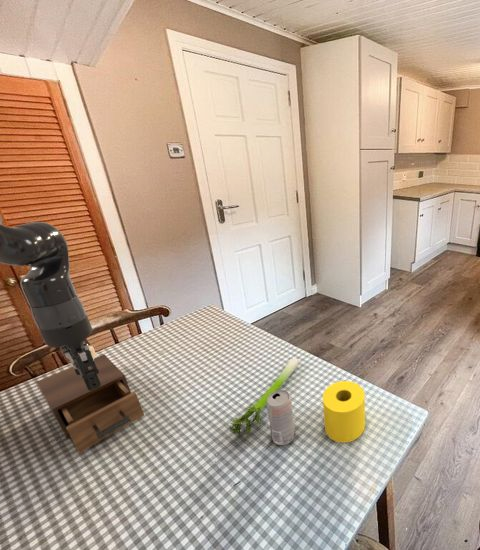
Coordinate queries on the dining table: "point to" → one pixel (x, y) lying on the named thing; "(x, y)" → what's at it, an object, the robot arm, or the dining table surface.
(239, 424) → the celery stalk
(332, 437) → the yellow toilet paper roll
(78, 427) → the drawer
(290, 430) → the energy drink
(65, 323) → the robot arm
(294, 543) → the dining table surface
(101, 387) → the cabinet
